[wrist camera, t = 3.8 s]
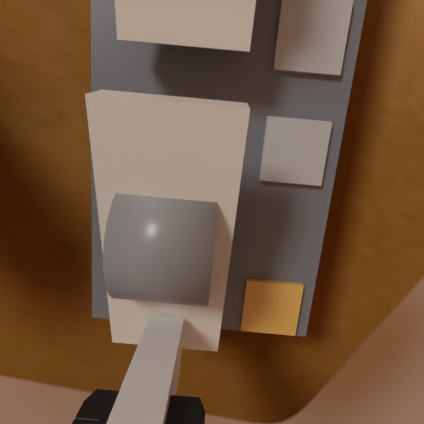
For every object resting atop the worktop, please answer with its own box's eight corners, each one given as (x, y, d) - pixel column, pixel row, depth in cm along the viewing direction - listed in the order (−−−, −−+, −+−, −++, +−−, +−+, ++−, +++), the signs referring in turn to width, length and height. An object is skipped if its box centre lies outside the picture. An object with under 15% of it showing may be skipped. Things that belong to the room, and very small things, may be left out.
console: (120, 277, 21) (87, 323, 16) (129, -155, 16) (82, -312, 10) (285, 292, 21) (308, 343, 16) (353, -134, 16) (425, -279, 10)
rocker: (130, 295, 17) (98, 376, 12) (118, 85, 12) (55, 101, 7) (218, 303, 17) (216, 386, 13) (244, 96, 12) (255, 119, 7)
